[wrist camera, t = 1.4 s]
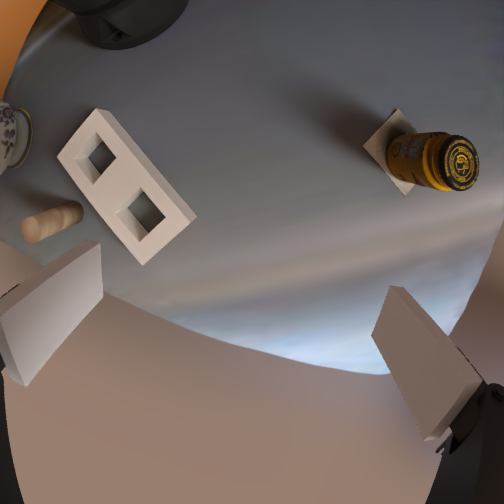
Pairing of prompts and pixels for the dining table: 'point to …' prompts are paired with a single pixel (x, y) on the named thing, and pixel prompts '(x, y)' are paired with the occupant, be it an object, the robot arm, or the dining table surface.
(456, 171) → the condiment
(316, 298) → the dining table surface
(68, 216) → the dowel
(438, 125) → the dining table surface
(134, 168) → the hole block
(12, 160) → the apothecary jar
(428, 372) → the robot arm
